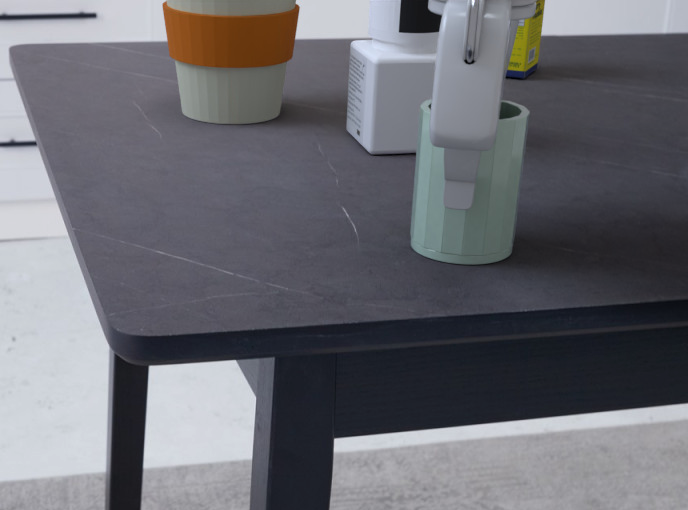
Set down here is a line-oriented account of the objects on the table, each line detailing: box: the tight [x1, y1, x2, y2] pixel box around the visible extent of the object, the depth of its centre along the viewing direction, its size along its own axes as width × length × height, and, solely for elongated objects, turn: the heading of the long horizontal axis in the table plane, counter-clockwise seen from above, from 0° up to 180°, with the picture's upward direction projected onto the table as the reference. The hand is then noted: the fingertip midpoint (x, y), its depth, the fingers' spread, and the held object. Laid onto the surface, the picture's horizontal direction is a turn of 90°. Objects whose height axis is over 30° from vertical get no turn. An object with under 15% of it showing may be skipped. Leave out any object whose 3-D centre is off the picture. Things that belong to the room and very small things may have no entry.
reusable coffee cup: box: [162, 0, 301, 125], centre depth 102 cm, size 13×13×15 cm
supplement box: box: [505, 0, 546, 80], centre depth 121 cm, size 6×6×11 cm
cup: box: [409, 99, 531, 266], centre depth 73 cm, size 7×7×9 cm
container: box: [346, 0, 442, 155], centre depth 95 cm, size 8×8×13 cm
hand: (462, 183), depth 73 cm, fingers open, 8 cm apart
